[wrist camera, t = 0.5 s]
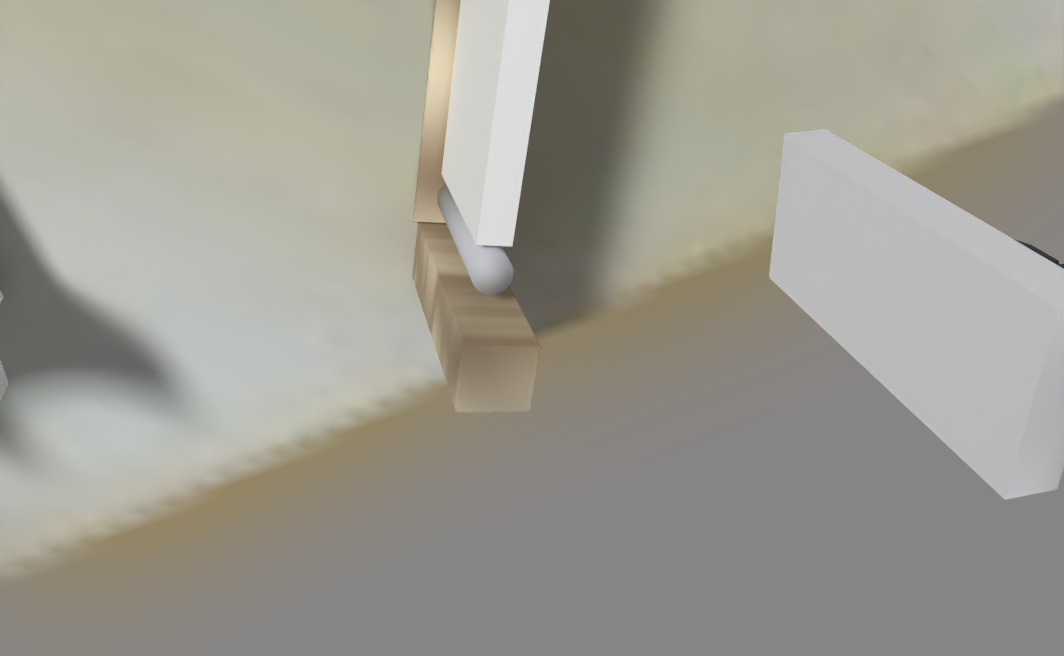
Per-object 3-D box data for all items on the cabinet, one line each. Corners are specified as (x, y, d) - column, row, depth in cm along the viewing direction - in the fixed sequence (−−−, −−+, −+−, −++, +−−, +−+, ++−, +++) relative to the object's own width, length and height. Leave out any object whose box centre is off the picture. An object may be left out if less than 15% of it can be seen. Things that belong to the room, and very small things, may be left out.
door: (491, 216, 38) (536, 295, 32) (434, 213, 37) (469, 293, 31) (563, -296, 30) (640, -320, 24) (492, -311, 29) (553, -340, 23)
